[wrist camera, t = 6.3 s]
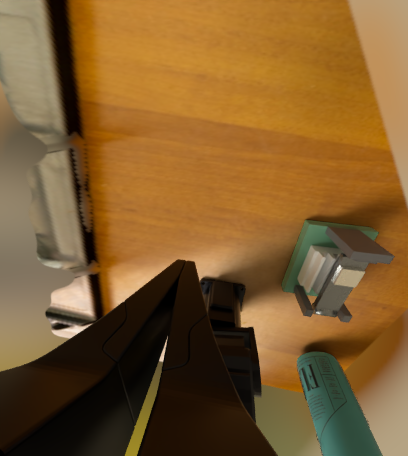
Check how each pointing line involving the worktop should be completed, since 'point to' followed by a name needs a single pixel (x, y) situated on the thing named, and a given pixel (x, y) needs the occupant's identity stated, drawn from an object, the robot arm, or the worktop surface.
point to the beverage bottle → (334, 408)
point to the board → (328, 258)
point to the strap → (338, 285)
